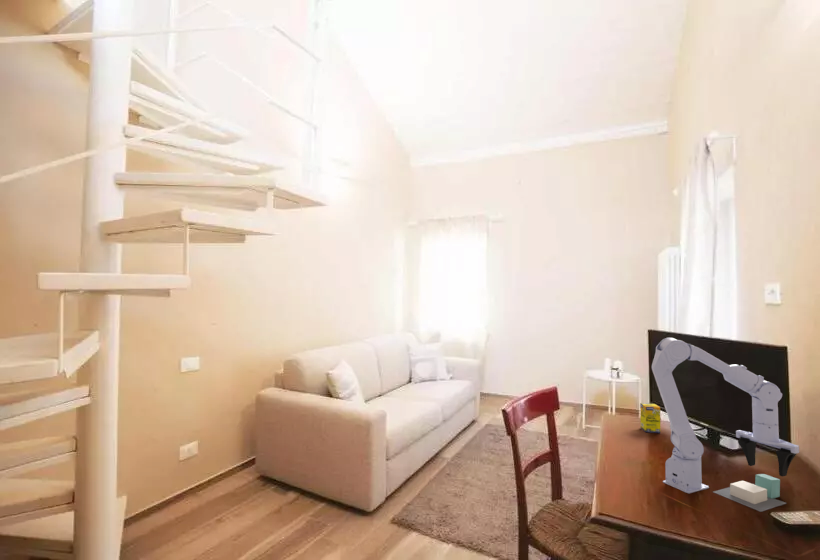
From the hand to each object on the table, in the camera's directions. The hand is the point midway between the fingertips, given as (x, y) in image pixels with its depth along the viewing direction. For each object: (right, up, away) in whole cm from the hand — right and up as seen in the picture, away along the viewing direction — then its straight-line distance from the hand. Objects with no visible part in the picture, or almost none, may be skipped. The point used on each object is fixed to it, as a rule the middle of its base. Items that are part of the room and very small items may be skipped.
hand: (766, 470), depth 119 cm
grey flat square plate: (-7, -7, -2) cm, 10 cm away
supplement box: (0, -10, +57) cm, 58 cm away
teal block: (0, -7, 0) cm, 7 cm away
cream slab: (-7, -7, -2) cm, 10 cm away
